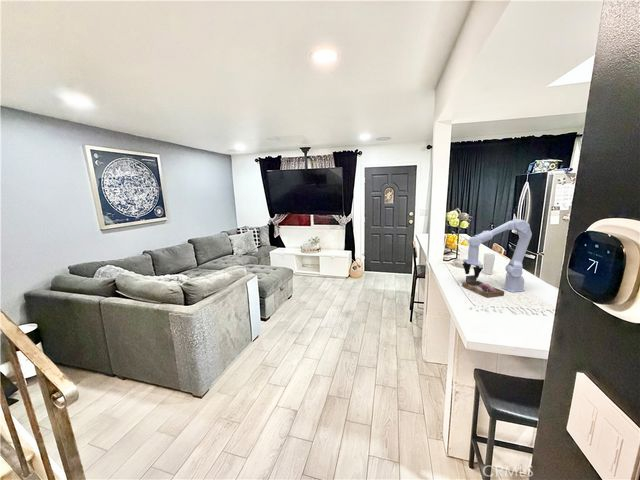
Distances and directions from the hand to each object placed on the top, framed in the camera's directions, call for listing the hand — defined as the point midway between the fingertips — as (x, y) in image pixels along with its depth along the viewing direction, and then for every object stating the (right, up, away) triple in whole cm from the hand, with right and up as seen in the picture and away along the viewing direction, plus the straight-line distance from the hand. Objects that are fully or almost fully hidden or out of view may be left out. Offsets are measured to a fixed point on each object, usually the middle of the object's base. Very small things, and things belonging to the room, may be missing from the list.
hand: (471, 275), depth 167 cm
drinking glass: (+27, -2, +25) cm, 37 cm away
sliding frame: (+2, -8, -7) cm, 11 cm away
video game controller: (+4, -9, -11) cm, 15 cm away
